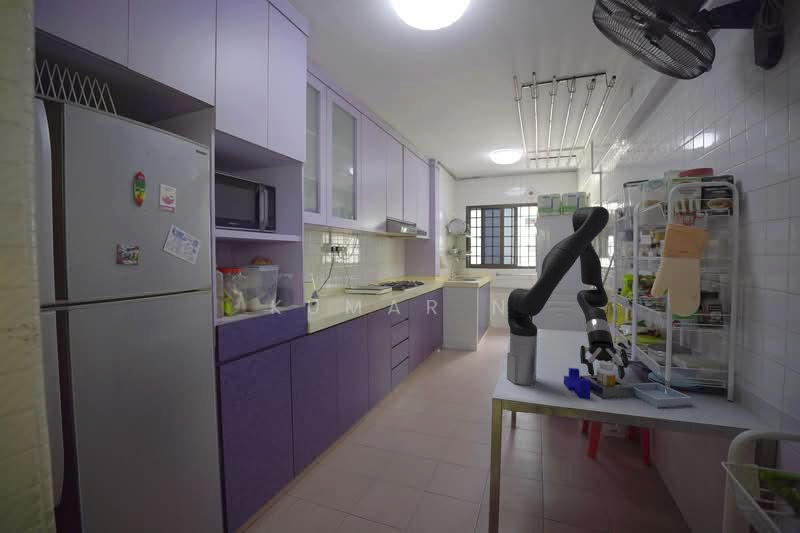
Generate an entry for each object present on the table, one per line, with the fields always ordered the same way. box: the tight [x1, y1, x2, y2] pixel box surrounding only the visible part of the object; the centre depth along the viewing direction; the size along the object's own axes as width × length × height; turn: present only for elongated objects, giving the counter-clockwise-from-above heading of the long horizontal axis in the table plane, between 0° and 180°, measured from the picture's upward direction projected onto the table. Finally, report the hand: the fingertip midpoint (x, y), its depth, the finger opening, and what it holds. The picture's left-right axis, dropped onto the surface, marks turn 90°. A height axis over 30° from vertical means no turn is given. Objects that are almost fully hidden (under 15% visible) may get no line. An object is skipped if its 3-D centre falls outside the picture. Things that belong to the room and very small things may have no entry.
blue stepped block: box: [563, 367, 591, 400], centre depth 113 cm, size 12×4×6 cm, turn 169°
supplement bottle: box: [596, 361, 617, 385], centre depth 113 cm, size 5×5×10 cm
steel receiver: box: [580, 374, 635, 400], centre depth 113 cm, size 11×11×4 cm
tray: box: [628, 382, 693, 409], centre depth 108 cm, size 12×12×3 cm
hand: (607, 376), depth 112 cm, fingers open, 8 cm apart
